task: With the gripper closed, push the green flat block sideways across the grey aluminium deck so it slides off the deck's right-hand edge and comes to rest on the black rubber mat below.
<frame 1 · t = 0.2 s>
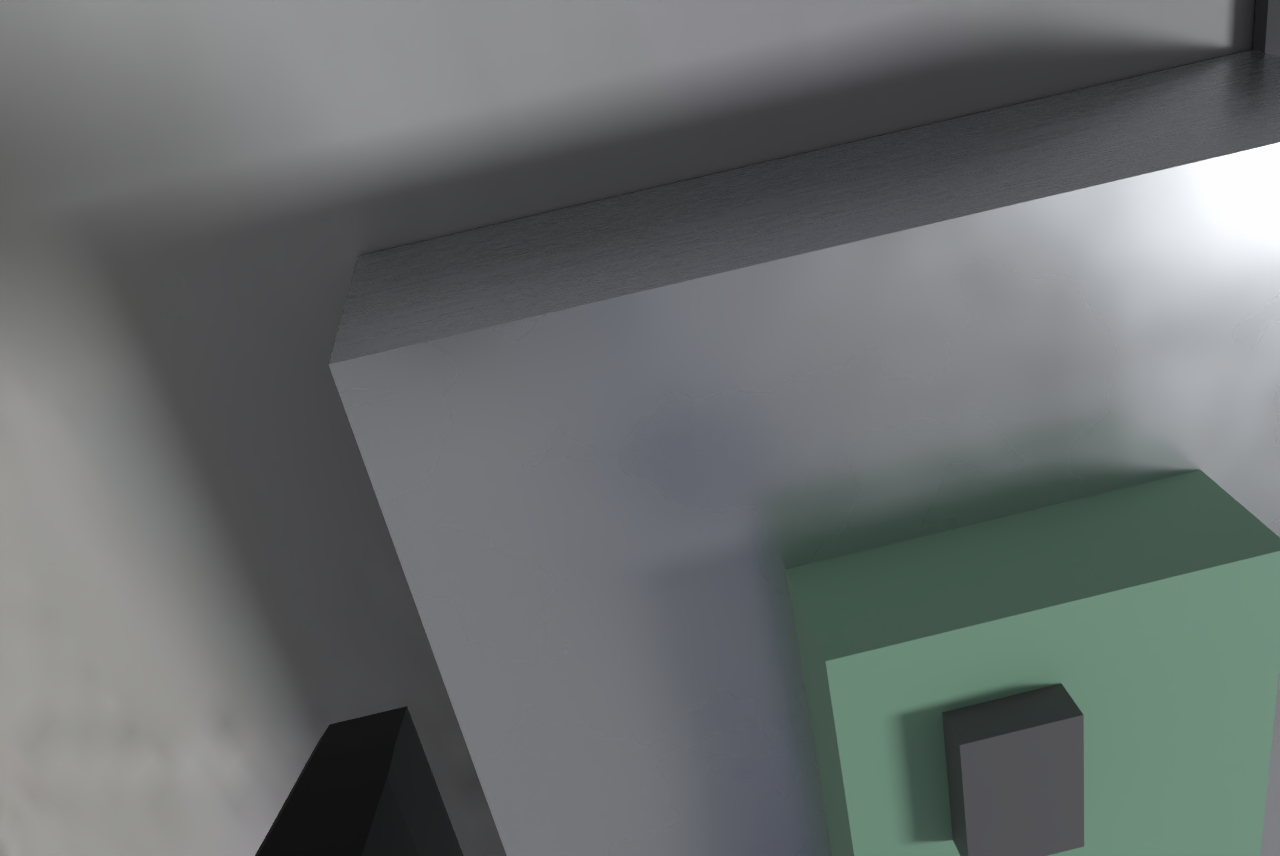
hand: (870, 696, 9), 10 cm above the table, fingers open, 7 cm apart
deck: (866, 615, 21), on the table
green flat block: (1005, 752, 18), point 4 cm above the table, touching deck
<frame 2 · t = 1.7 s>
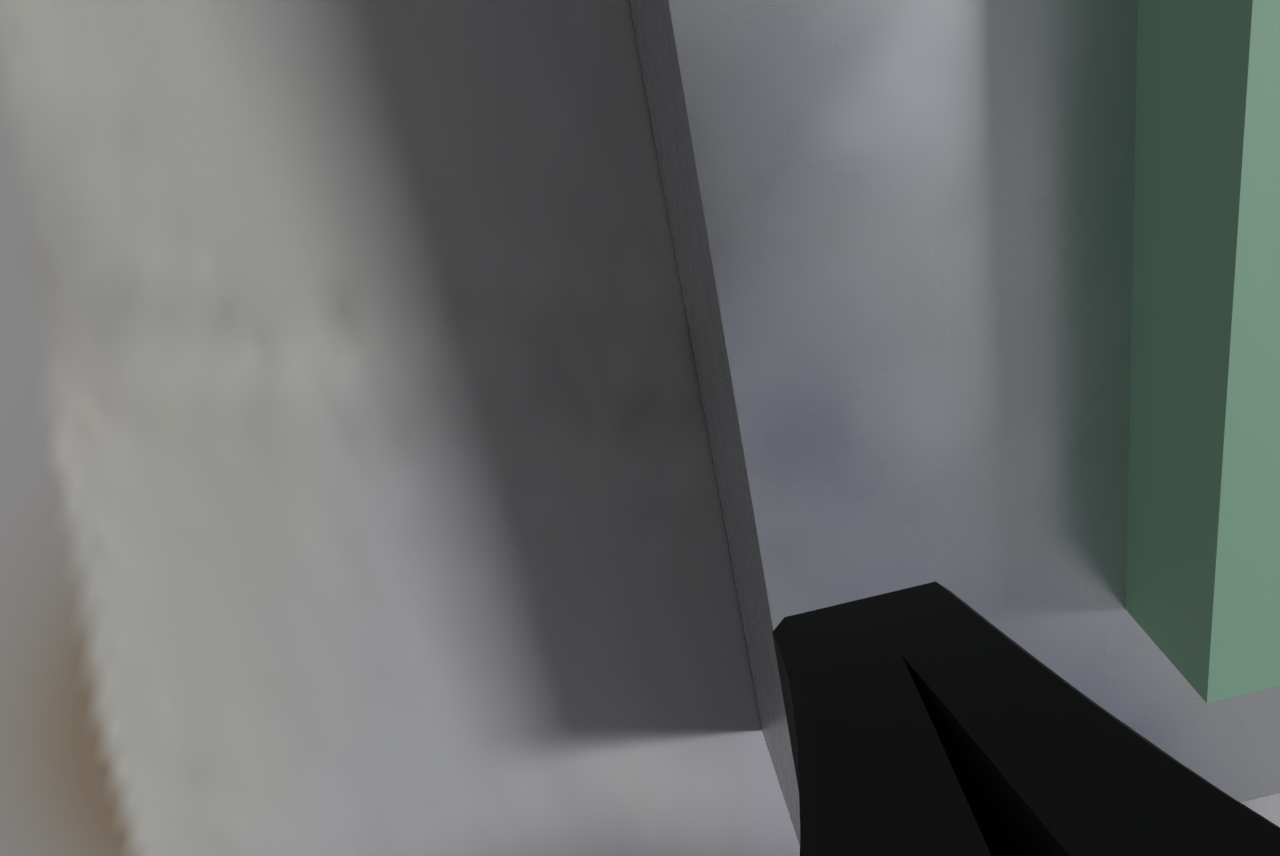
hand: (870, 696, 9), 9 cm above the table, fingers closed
deck: (1122, 198, 17), on the table
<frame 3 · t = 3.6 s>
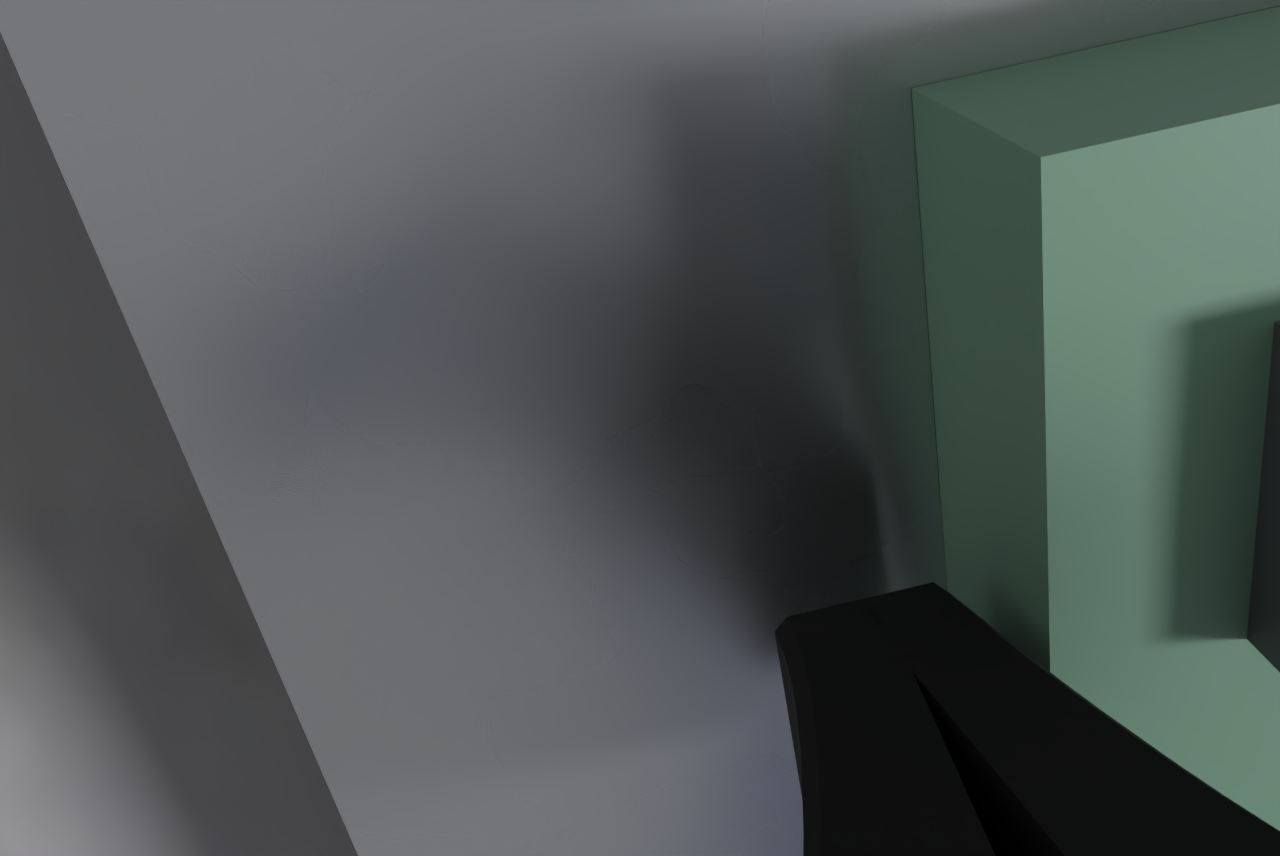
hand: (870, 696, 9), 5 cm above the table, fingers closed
deck: (933, 380, 13), on the table
green flat block: (1276, 528, 10), point 4 cm above the table, touching gripper
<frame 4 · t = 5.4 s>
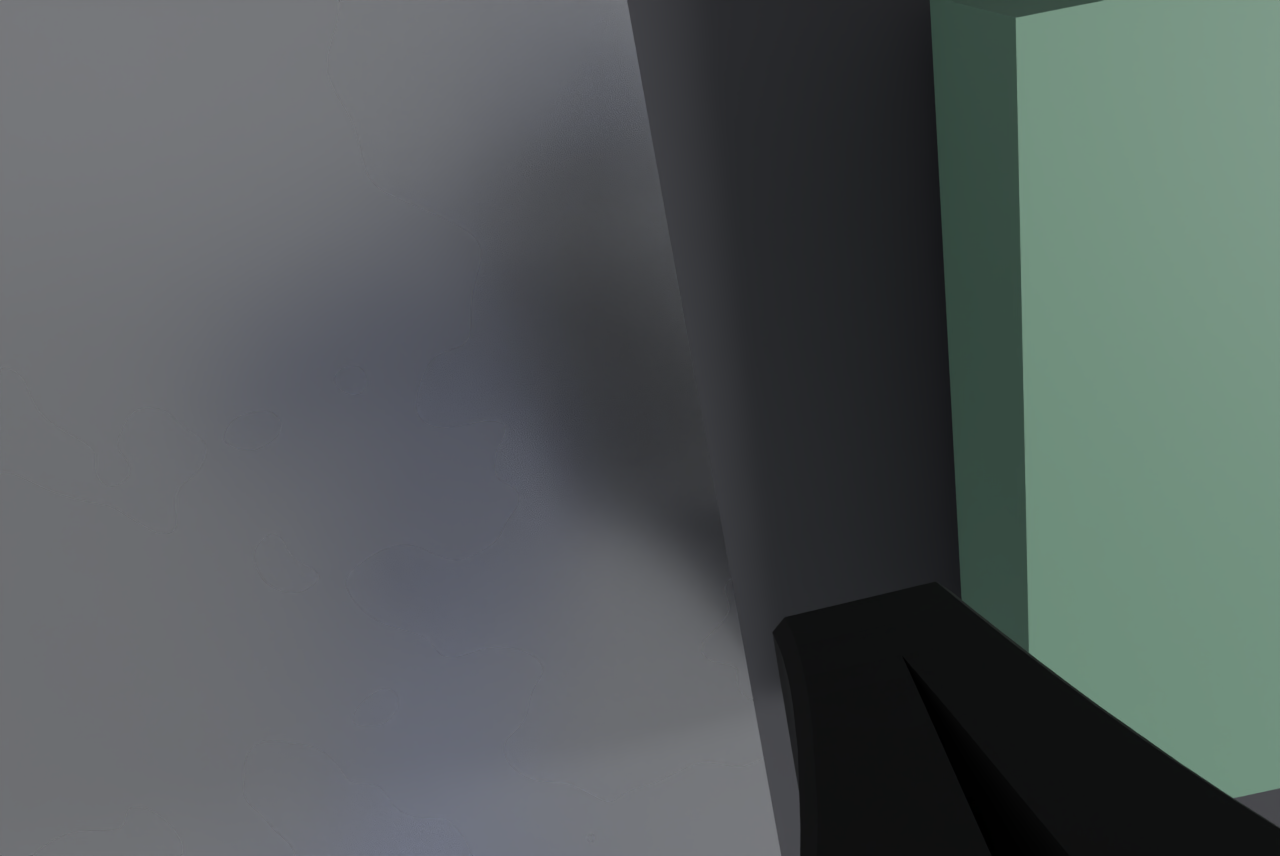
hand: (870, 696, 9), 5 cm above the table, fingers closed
deck: (88, 574, 13), on the table
mat: (1158, 329, 14), on the table
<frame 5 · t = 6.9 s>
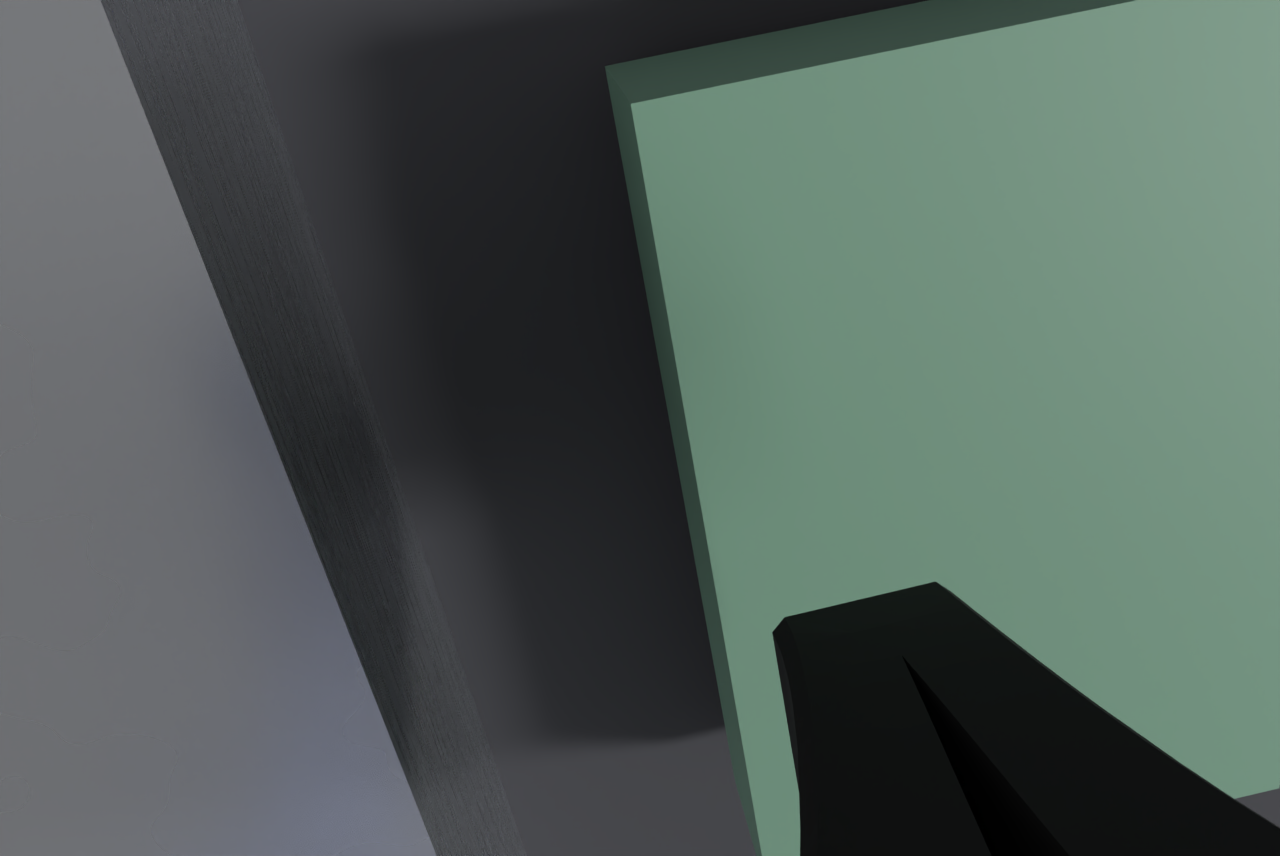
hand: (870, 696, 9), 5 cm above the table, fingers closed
mat: (905, 385, 13), on the table
green flat block: (1019, 513, 11), point 3 cm above the table, tilted 179°, touching mat
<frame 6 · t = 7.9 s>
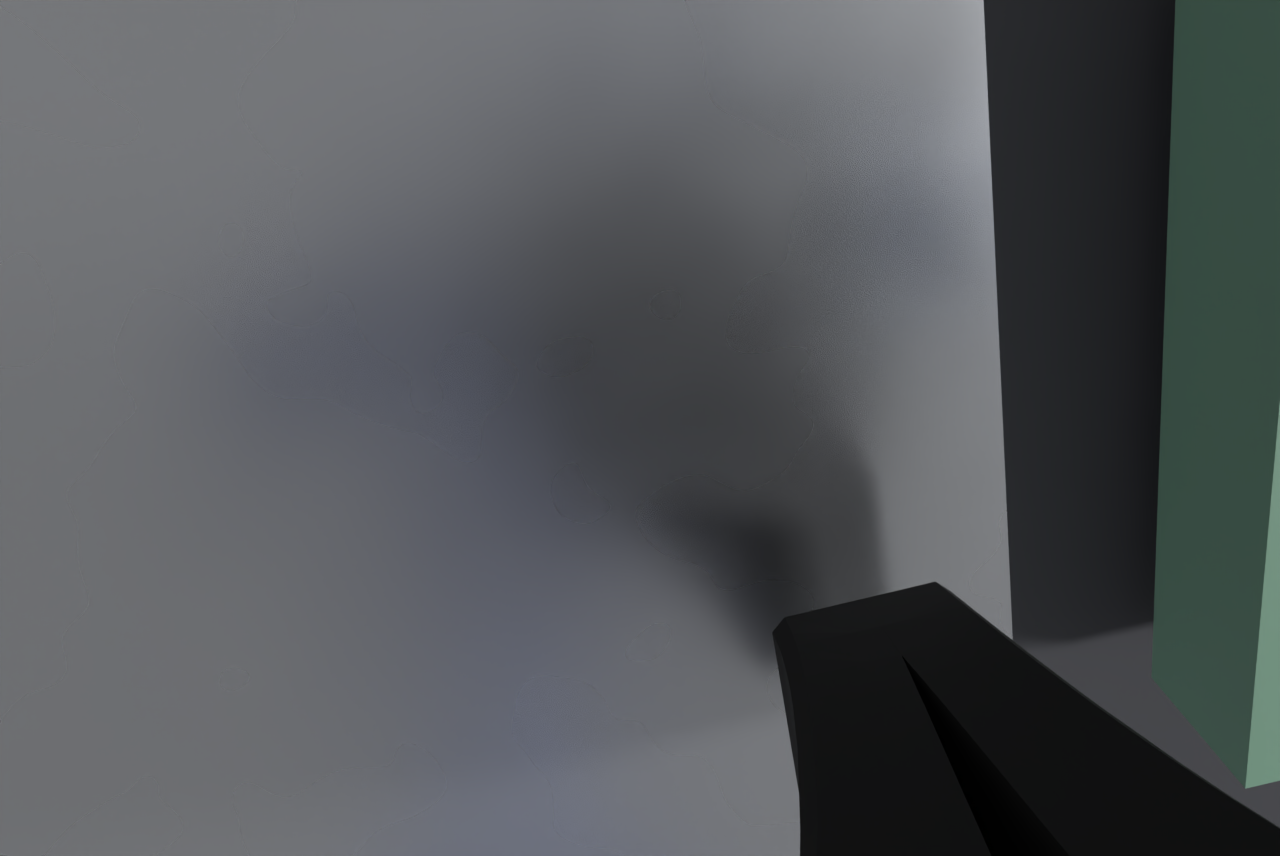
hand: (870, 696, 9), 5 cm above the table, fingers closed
deck: (288, 528, 13), on the table
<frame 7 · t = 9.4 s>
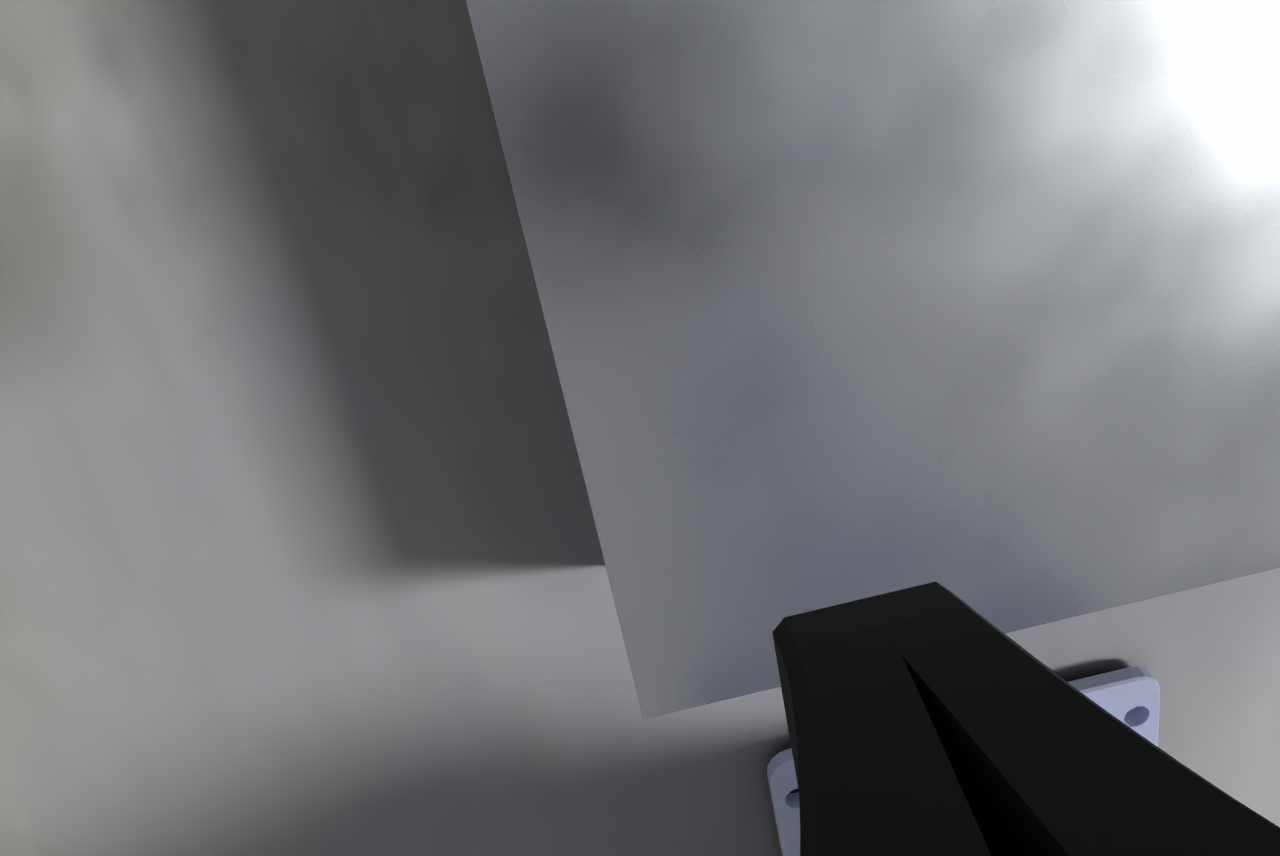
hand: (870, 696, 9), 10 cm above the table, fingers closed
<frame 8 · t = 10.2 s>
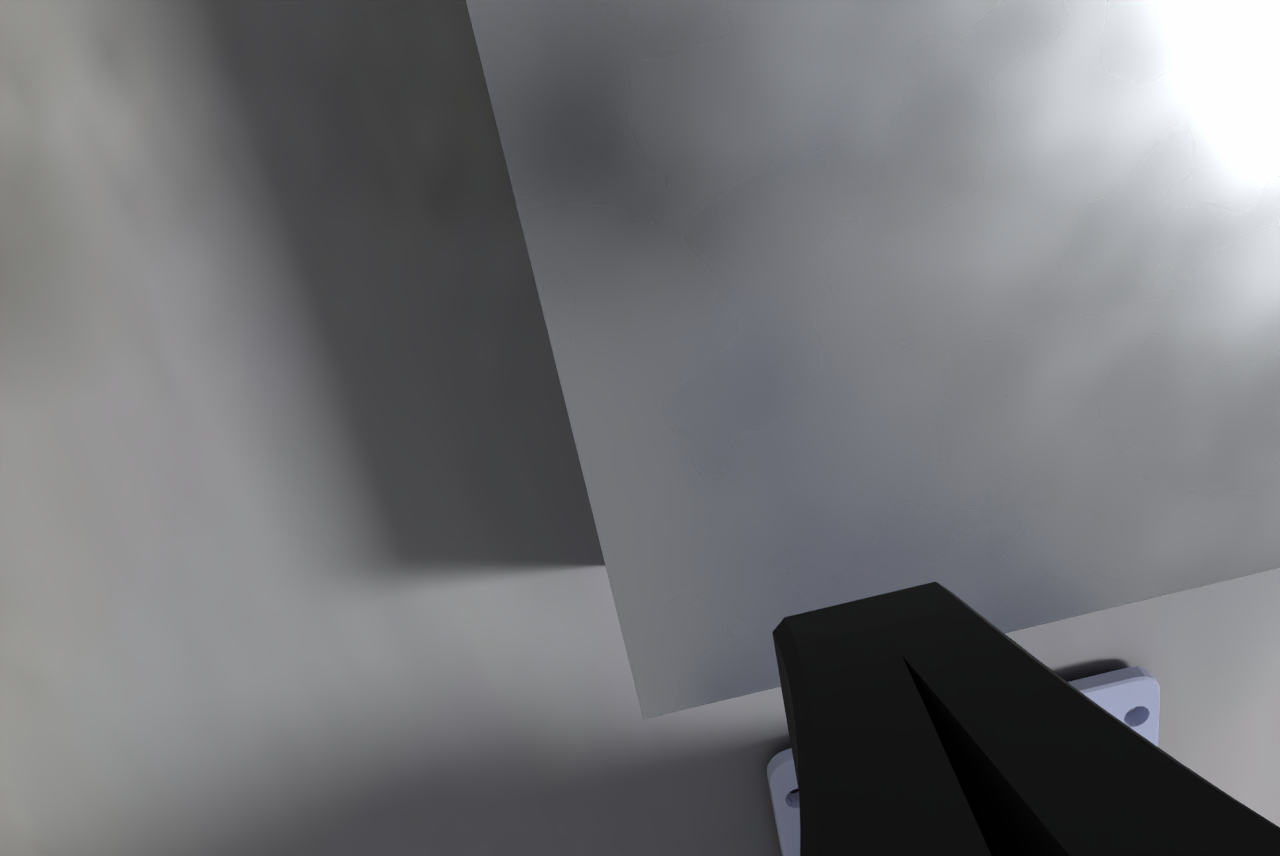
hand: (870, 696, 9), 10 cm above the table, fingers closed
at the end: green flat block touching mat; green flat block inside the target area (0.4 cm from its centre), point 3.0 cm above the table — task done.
